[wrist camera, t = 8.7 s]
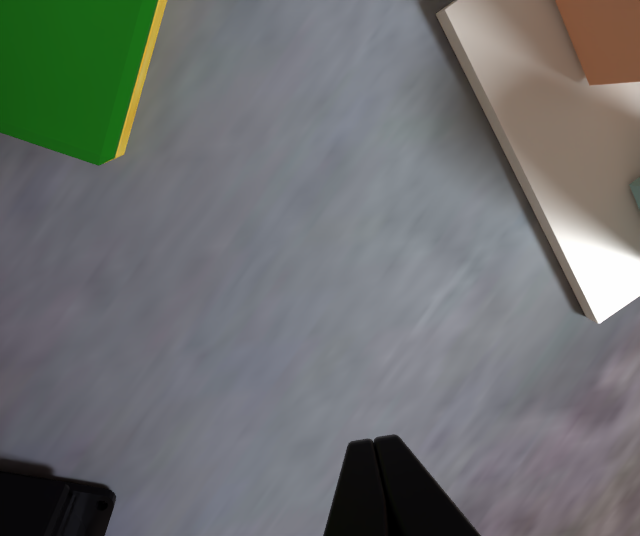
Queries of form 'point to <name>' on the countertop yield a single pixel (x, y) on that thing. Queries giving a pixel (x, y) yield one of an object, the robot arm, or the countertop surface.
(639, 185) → the button teal
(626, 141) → the button console
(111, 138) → the dish sponge
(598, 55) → the orange domed block
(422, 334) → the countertop surface
